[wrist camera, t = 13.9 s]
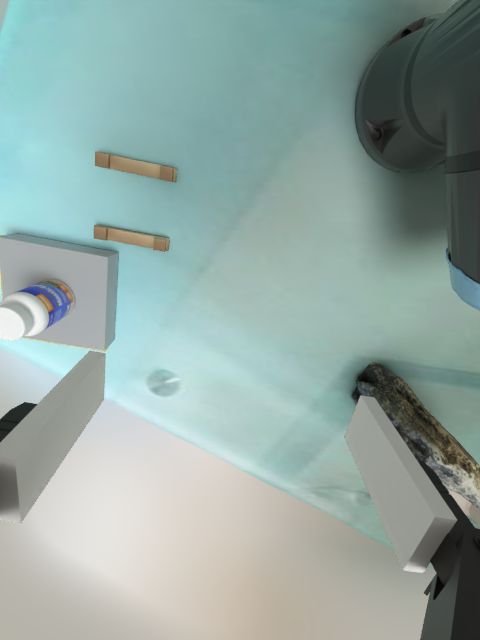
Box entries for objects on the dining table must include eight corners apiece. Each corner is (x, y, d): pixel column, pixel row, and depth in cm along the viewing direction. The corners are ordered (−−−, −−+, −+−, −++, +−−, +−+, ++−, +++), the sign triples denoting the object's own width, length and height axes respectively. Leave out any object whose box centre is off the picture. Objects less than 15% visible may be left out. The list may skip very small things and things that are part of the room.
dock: (16, 232, 44) (-4, 236, 40) (119, 252, 45) (108, 256, 41) (23, 324, 49) (5, 335, 45) (114, 340, 50) (104, 351, 46)
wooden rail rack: (99, 153, 40) (93, 151, 38) (177, 169, 41) (174, 168, 39) (97, 236, 44) (92, 237, 42) (168, 249, 44) (166, 251, 43)
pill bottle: (82, 292, 43) (39, 317, 34) (67, 323, 44) (22, 355, 35) (44, 270, 42) (-11, 290, 32) (30, 302, 43) (-26, 330, 34)
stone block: (337, 389, 53) (390, 492, 35) (377, 353, 51) (457, 443, 32) (405, 443, 58) (484, 560, 39) (445, 412, 55) (550, 522, 37)
